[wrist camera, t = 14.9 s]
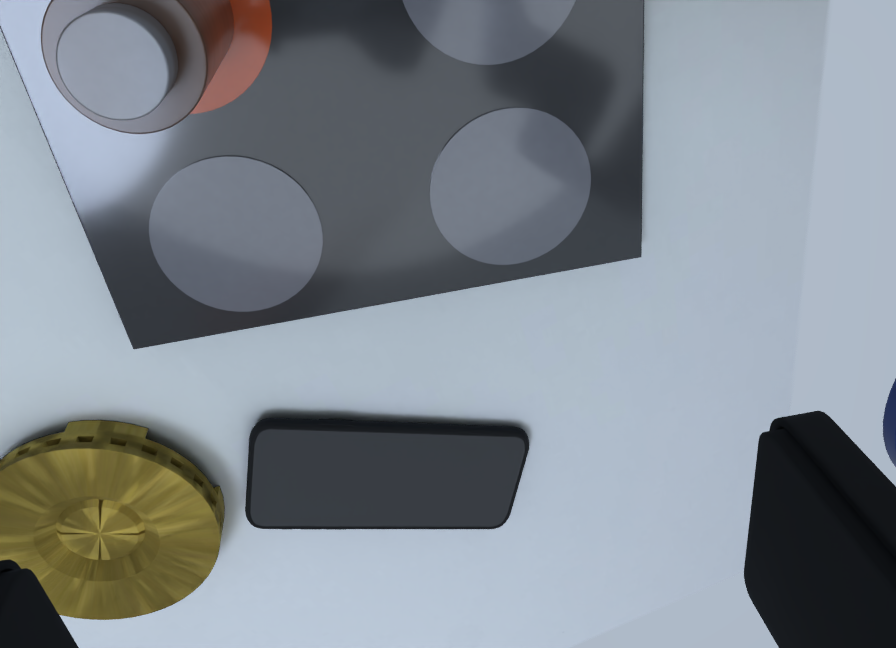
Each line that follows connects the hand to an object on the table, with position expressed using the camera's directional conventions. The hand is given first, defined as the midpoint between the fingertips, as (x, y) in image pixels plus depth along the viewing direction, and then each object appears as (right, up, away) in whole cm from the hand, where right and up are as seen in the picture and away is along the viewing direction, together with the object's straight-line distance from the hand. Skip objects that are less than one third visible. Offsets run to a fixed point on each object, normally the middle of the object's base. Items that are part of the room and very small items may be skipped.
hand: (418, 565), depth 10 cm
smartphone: (-3, -5, +32) cm, 32 cm away
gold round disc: (-18, -7, +30) cm, 36 cm away
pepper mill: (-10, +14, +18) cm, 25 cm away
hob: (-3, +12, +21) cm, 25 cm away
